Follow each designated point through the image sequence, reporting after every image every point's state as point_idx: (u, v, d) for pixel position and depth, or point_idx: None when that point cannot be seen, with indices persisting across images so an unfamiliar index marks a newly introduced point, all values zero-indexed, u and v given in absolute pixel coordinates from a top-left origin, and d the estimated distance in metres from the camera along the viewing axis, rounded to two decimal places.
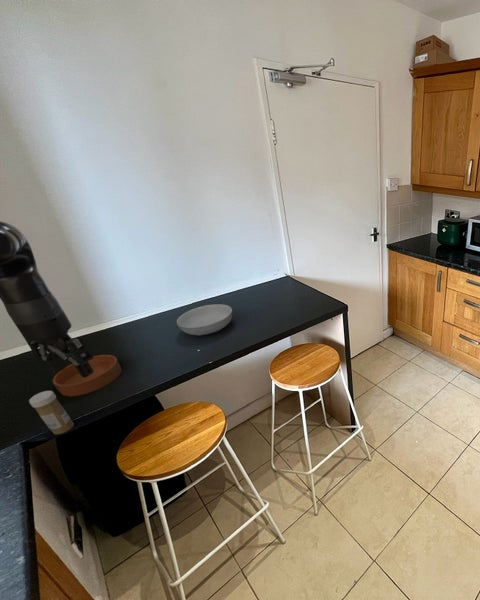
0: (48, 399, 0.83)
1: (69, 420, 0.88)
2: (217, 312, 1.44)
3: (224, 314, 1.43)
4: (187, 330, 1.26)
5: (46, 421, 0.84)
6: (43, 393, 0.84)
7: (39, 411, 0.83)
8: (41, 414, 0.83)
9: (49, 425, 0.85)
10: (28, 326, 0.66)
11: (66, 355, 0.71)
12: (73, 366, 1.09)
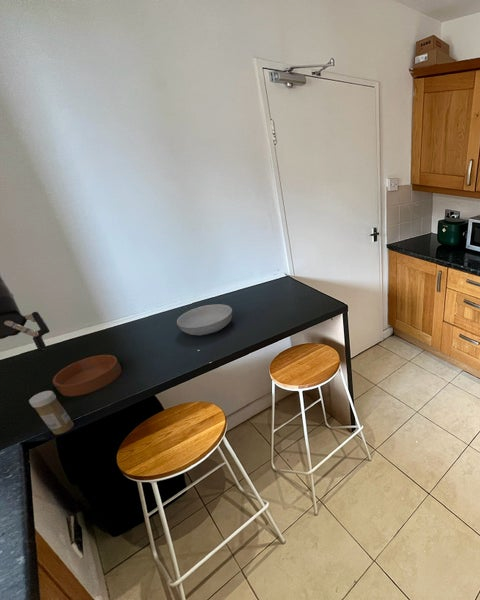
0: (48, 399, 0.83)
1: (69, 420, 0.88)
2: (217, 312, 1.44)
3: (224, 314, 1.43)
4: (187, 330, 1.26)
5: (46, 421, 0.84)
6: (43, 393, 0.84)
7: (39, 411, 0.83)
8: (41, 414, 0.83)
9: (49, 425, 0.85)
10: None
11: None
12: (73, 366, 1.09)
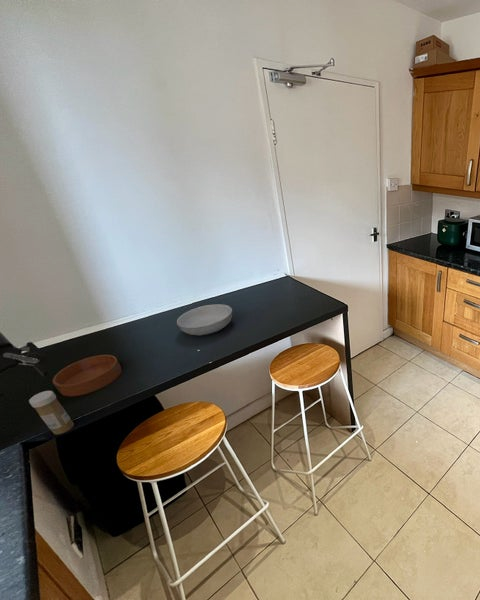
0: (48, 399, 0.83)
1: (69, 420, 0.88)
2: (217, 312, 1.44)
3: (224, 314, 1.43)
4: (187, 330, 1.26)
5: (46, 421, 0.84)
6: (43, 393, 0.84)
7: (39, 411, 0.83)
8: (41, 414, 0.83)
9: (49, 425, 0.85)
10: None
11: None
12: (73, 366, 1.09)
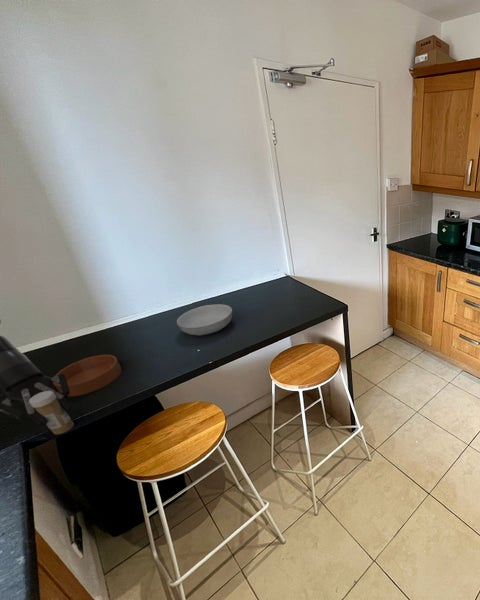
0: (48, 400, 0.83)
1: (69, 420, 0.88)
2: (217, 312, 1.44)
3: (224, 314, 1.43)
4: (187, 330, 1.26)
5: None
6: (43, 393, 0.84)
7: (39, 411, 0.83)
8: (41, 414, 0.83)
9: (49, 425, 0.85)
10: (23, 364, 0.84)
11: (52, 390, 0.86)
12: (73, 366, 1.09)
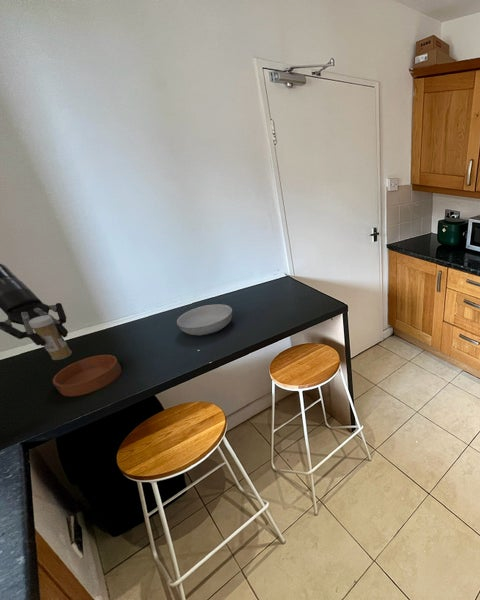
0: (46, 322, 0.90)
1: (66, 345, 0.95)
2: (217, 312, 1.44)
3: (224, 314, 1.43)
4: (187, 330, 1.26)
5: None
6: (41, 317, 0.91)
7: (38, 332, 0.89)
8: (39, 335, 0.90)
9: (47, 347, 0.92)
10: (23, 290, 0.91)
11: None
12: (73, 366, 1.09)
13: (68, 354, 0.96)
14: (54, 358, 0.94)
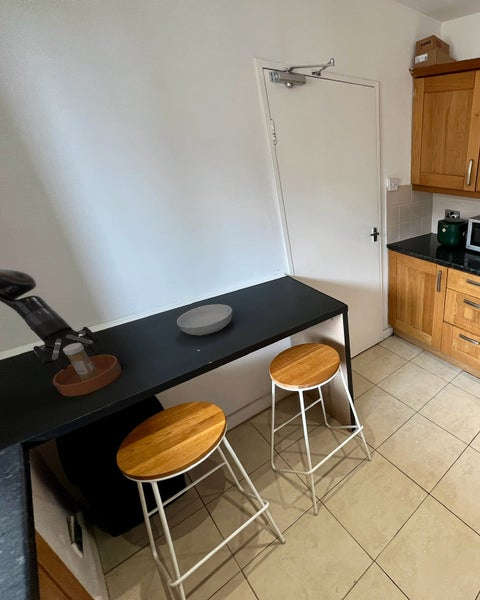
0: (78, 349, 1.02)
1: (94, 368, 1.07)
2: (217, 312, 1.44)
3: (224, 314, 1.43)
4: (187, 330, 1.26)
5: (76, 367, 1.03)
6: (74, 344, 1.03)
7: (71, 358, 1.02)
8: (72, 361, 1.02)
9: (78, 371, 1.04)
10: (57, 319, 1.03)
11: None
12: None
13: None
14: (84, 380, 1.06)
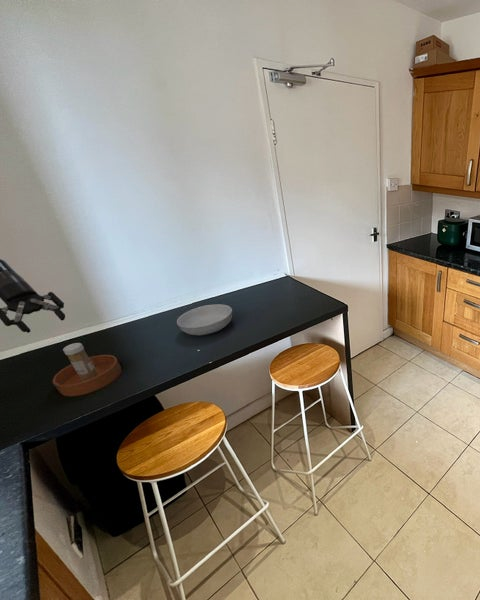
0: (78, 349, 1.02)
1: (94, 368, 1.07)
2: (217, 312, 1.44)
3: (224, 314, 1.43)
4: (187, 330, 1.26)
5: (76, 367, 1.03)
6: (74, 344, 1.03)
7: (71, 358, 1.02)
8: (72, 361, 1.02)
9: (78, 371, 1.04)
10: (20, 282, 1.03)
11: None
12: None
13: None
14: (84, 380, 1.06)
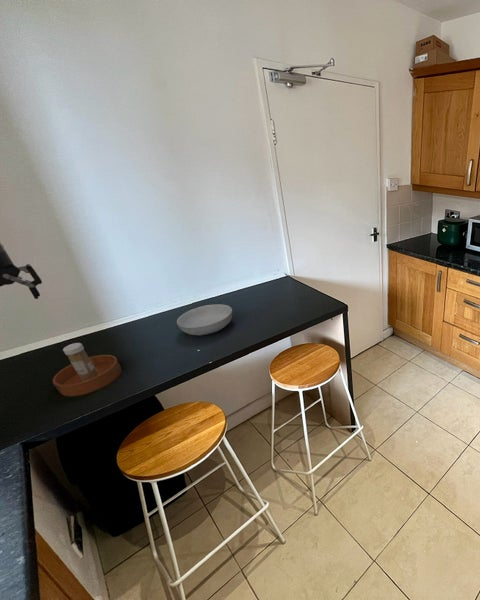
0: (78, 349, 1.02)
1: (94, 368, 1.07)
2: (217, 312, 1.44)
3: (224, 314, 1.43)
4: (187, 330, 1.26)
5: (76, 367, 1.03)
6: (74, 344, 1.03)
7: (71, 358, 1.02)
8: (72, 361, 1.02)
9: (78, 371, 1.04)
10: None
11: (22, 279, 0.93)
12: None
13: None
14: (84, 380, 1.06)
